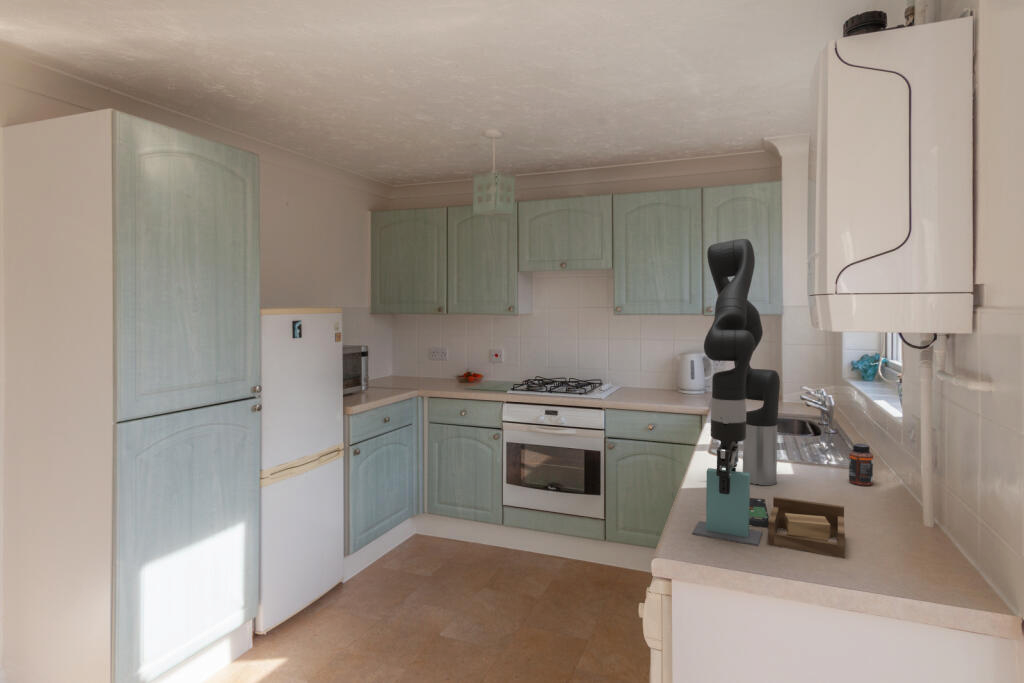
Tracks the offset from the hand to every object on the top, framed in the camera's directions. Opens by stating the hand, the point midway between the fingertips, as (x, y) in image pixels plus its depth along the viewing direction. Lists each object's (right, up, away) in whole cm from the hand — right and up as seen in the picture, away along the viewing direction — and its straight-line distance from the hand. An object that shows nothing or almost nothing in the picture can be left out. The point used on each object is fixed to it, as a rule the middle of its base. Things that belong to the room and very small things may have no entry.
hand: (727, 488), depth 131 cm
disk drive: (+9, -11, +12) cm, 19 cm away
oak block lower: (+15, -11, -5) cm, 20 cm away
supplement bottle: (+52, -8, +36) cm, 64 cm away
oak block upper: (+15, -8, -6) cm, 18 cm away
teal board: (0, -10, +1) cm, 10 cm away
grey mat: (0, -11, +1) cm, 11 cm away
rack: (+16, -11, -4) cm, 20 cm away
